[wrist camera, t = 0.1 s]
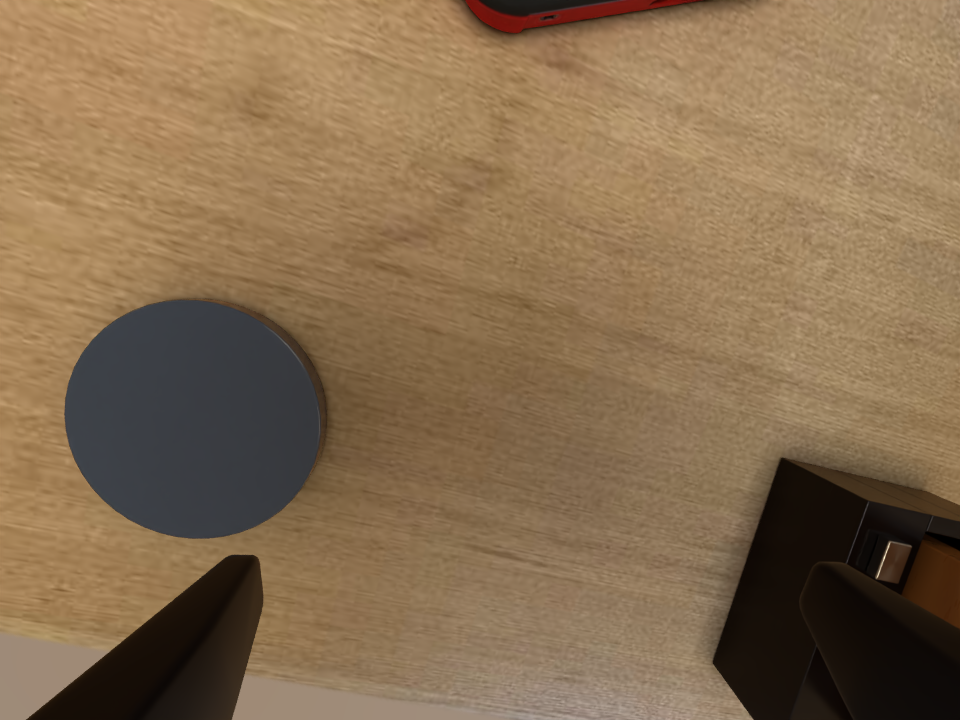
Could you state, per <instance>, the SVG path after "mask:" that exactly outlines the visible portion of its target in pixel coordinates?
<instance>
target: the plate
mask: <svg viewBox="0 0 960 720" xmlns="http://www.w3.org/2000/svg"><path fill="white" fill-rule="evenodd" d="M64 414H65V427H66V433H67V437H68V442H69V446H70V449H71V451H72V454H73V457H74V459H75V462H76V463H77V465H78V467H79V469H80V471H81V473H82V475H83V476H84V477H85V479H86V480H87V482H88V483H89V484H90V486H91V487H92V489H93V490H94V491H95V492H96V493H97V494H98V495H99V496H100V497H101V498H102V499H103V500H104V501H105V502H106V503H107V504H108V505H110V506H111V507H112V508H113V509H114V510H115V511H117V512H118V513H120V514H121V515H123V516H124V517H126V518H127V519H129V520H131V521H133V522H135V523H137V524H139V525H141V526H143V527H145V528H148V529H150V530H153V531H156V532H159V533H162V534H167V535H171V536H175V537H183V538H192V539H203V538H216V537H224V536H228V535H232V534H236V533H240V532H243V531H245V530H248V529H251V528H253V527H256V526H257V525H259V524H261V523H263V522H265V521H267V520H269V519H270V518H271V517H273V516H274V515H275V514H277V513H278V512H280V511H281V510H282V509H283V508H284V507H285V506H286V505H287V504H288V503H289V502H291V501H292V499H293V498H294V497H295V496H296V495H297V493H298V492H299V491H300V490H301V488H302V487H303V485H304V484H305V483H306V481H307V480H308V478H309V476H310V475H311V473H312V471H313V470H314V468H315V466H316V464H317V462H318V459H319V457H320V455H321V452H322V448H323V445H324V441H325V435H326V427H327V410H326V403H325V396H324V393H323V389H322V386H321V382H320V380H319V377H318V375H317V373H316V370H315V368H314V366H313V365H312V363H311V361H310V360H309V358H308V356H307V355H306V353H305V352H304V351H303V350H302V348H301V347H300V346H299V345H298V343H297V342H296V341H295V340H294V339H293V338H292V337H291V336H290V335H289V334H288V333H287V332H286V331H285V330H283V329H282V328H281V327H279V326H278V325H277V324H275V323H274V322H273V321H271V320H269V319H268V318H266V317H264V316H263V315H261V314H259V313H257V312H255V311H252V310H250V309H248V308H245V307H243V306H240V305H236V304H233V303H229V302H224V301H218V300H212V299H182V300H172V301H163V302H159V303H154V304H150V305H146V306H144V307H141V308H138V309H136V310H133V311H131V312H129V313H127V314H125V315H123V316H122V317H120V318H118V319H116V320H115V321H114V322H112V323H111V324H109V325H108V326H107V327H105V328H104V329H103V330H102V331H101V332H100V333H99V334H98V335H97V336H96V337H95V338H94V339H93V340H92V341H91V342H90V344H89V345H88V346H87V347H86V349H85V350H84V351H83V353H82V354H81V356H80V358H79V360H78V362H77V363H76V365H75V367H74V370H73V372H72V375H71V378H70V380H69V384H68V388H67V393H66V398H65V413H64Z"/></svg>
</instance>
